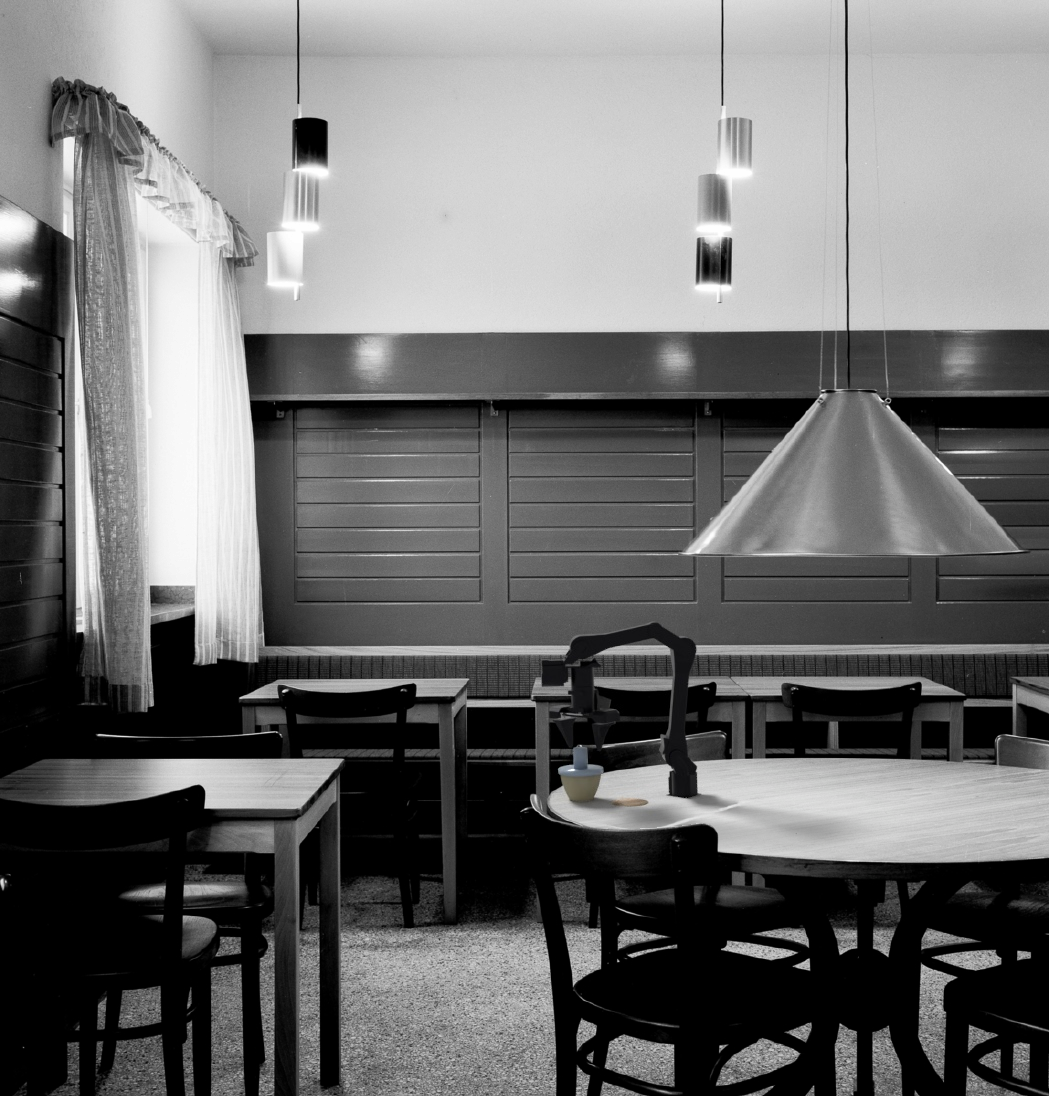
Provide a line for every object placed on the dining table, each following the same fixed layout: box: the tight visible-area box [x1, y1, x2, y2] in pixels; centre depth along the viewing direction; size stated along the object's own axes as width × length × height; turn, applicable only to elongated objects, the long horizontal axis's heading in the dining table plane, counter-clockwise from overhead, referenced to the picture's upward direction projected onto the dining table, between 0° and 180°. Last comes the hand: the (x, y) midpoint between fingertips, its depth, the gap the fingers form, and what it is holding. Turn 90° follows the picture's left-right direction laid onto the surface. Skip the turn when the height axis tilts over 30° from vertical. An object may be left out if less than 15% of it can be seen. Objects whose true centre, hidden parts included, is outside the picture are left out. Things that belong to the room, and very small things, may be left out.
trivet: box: [610, 797, 650, 808], centre depth 275 cm, size 9×9×1 cm
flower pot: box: [560, 774, 602, 803], centre depth 281 cm, size 10×10×7 cm
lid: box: [557, 746, 604, 777], centre depth 281 cm, size 11×11×6 cm
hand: (584, 748), depth 283 cm, fingers open, 9 cm apart
